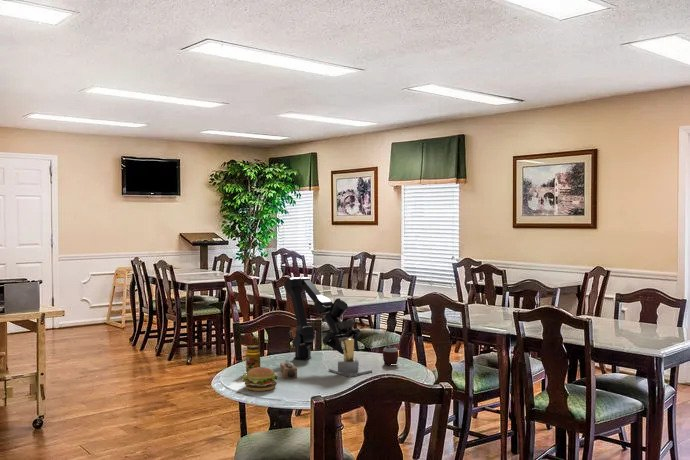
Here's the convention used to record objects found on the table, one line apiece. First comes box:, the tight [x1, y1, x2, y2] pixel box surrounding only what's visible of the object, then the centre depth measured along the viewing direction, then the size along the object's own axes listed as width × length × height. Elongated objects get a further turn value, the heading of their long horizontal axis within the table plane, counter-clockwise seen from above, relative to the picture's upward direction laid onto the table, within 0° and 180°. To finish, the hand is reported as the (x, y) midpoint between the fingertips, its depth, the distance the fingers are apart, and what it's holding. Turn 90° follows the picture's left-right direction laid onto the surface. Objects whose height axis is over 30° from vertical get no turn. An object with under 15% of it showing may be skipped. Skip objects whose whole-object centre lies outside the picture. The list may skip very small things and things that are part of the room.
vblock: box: [328, 357, 373, 378], centre depth 283 cm, size 14×13×5 cm
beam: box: [279, 361, 298, 380], centre depth 277 cm, size 12×5×4 cm, turn 16°
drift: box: [284, 359, 292, 368], centre depth 277 cm, size 9×2×2 cm, turn 16°
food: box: [241, 366, 279, 392], centre depth 257 cm, size 14×14×8 cm
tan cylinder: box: [343, 338, 355, 361], centre depth 284 cm, size 4×4×13 cm
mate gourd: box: [382, 330, 399, 367], centre depth 297 cm, size 8×8×15 cm
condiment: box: [245, 344, 261, 374], centre depth 280 cm, size 7×8×12 cm
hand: (350, 352), depth 283 cm, fingers open, 8 cm apart
